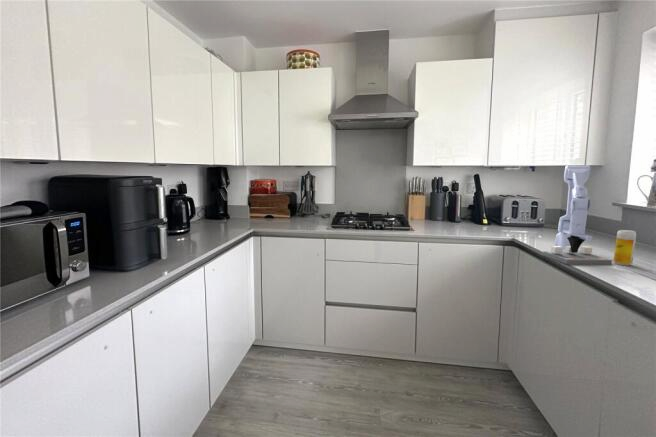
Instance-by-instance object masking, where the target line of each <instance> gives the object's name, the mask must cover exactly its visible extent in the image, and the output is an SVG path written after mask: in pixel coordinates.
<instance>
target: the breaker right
mask: <svg viewBox="0 0 656 437" xmlns="http://www.w3.org/2000/svg"><path fill="white" fill-rule="evenodd" d="M579 251H580V253H584V254H593V253H592V252H593V247H591V246H588V245H587V246H586V245H585V246H584V245H580V247H579Z"/></svg>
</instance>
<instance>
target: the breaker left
mask: <svg viewBox="0 0 656 437" xmlns="http://www.w3.org/2000/svg"><path fill="white" fill-rule="evenodd" d="M562 250H563V247H560V246H555V245H552V246H551V247H550V251H551V252H552V253H560V254H562V252H563V251H562Z"/></svg>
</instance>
